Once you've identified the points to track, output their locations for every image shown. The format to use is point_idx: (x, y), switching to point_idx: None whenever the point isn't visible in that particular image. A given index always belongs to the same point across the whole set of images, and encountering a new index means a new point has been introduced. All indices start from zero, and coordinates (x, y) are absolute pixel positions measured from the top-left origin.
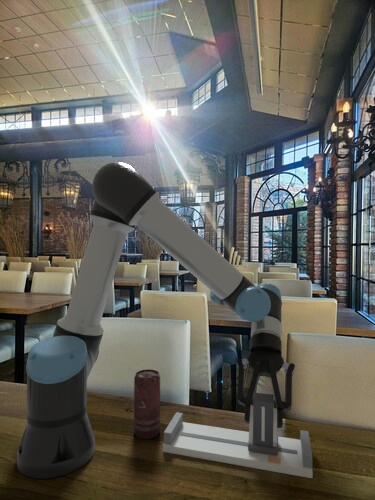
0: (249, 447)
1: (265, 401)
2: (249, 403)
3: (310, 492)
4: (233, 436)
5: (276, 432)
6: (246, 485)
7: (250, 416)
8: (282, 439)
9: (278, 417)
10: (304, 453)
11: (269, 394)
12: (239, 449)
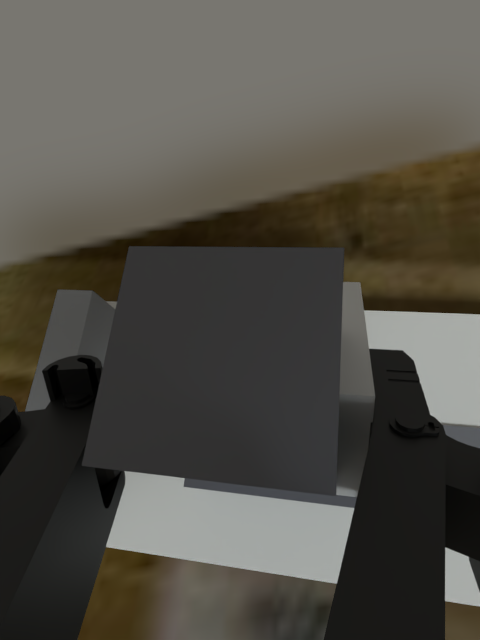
0: None
1: (206, 262)
2: (390, 413)
3: (131, 244)
4: None
5: None
6: (350, 221)
7: (362, 341)
8: (165, 526)
9: None
10: (85, 301)
11: (131, 467)
12: None
